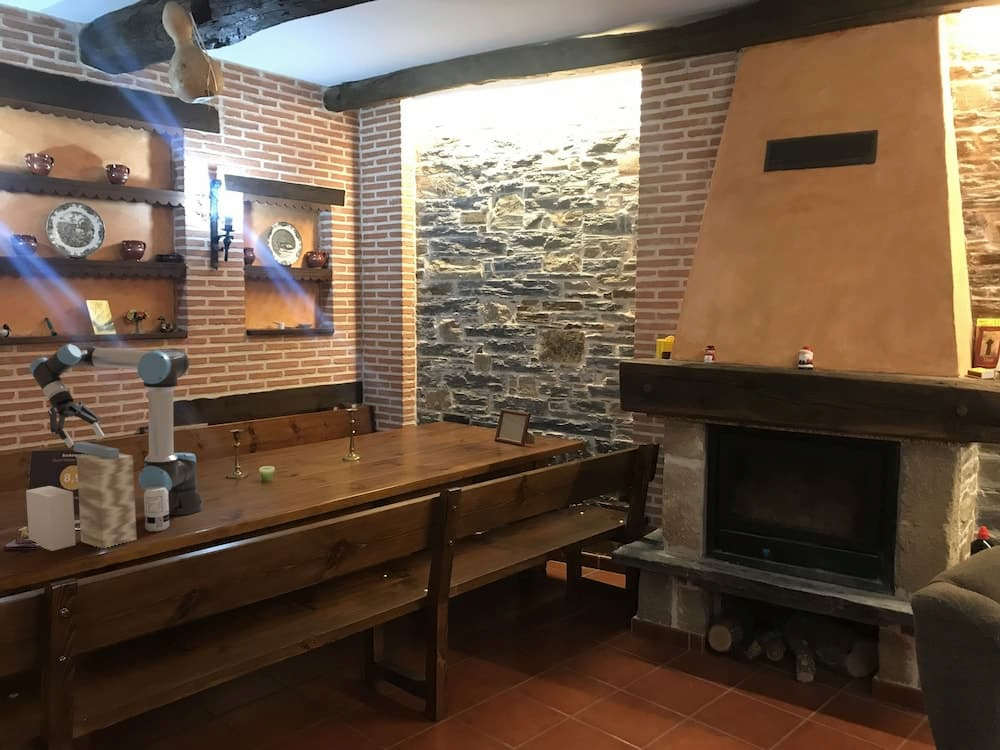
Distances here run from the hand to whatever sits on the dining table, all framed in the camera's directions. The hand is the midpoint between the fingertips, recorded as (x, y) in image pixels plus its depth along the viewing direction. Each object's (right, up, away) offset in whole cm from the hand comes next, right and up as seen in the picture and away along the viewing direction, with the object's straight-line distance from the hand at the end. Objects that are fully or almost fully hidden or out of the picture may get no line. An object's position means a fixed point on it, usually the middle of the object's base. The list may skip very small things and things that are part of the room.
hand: (87, 441), depth 304 cm
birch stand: (+19, -33, -22) cm, 44 cm away
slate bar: (+15, -3, -22) cm, 27 cm away
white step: (+1, -33, -26) cm, 42 cm away
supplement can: (+30, -31, -8) cm, 44 cm away
